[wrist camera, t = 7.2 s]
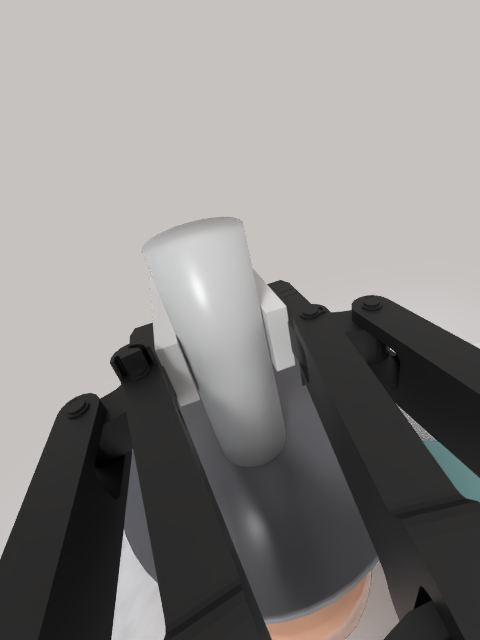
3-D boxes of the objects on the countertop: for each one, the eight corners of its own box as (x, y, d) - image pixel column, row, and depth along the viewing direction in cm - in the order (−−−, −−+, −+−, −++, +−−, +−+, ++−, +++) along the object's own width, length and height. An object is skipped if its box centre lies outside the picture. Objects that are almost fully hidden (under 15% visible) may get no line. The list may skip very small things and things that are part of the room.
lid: (67, 597, 12) (-215, 404, 6) (176, 363, 22) (112, 210, 17) (459, 659, 9) (658, 377, 3) (372, 351, 19) (376, 158, 13)
